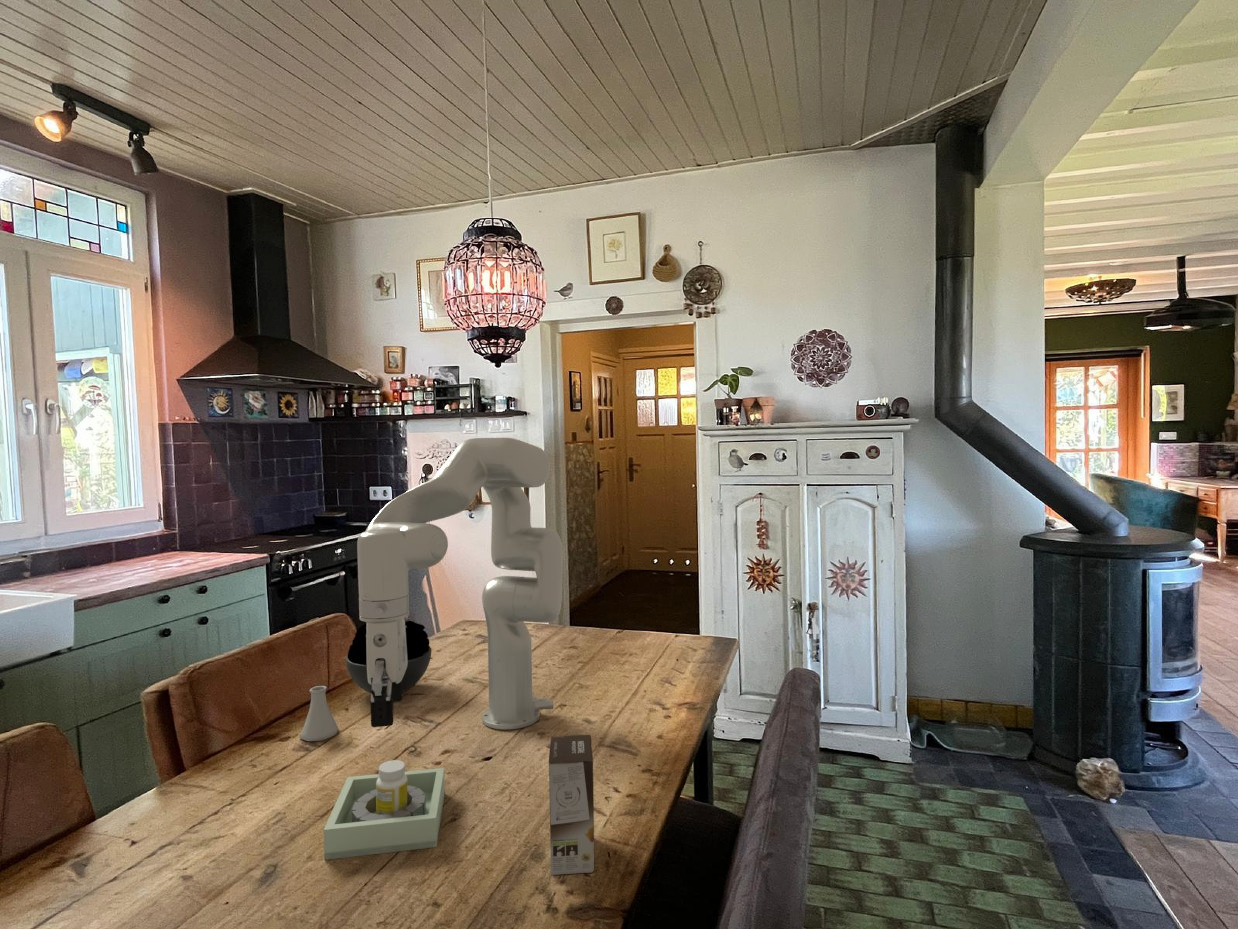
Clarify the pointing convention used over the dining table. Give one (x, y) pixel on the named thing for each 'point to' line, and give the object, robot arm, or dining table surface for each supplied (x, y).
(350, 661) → the bowl of black rocks
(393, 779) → the supplement bottle
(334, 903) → the dining table surface
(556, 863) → the coffee box
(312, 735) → the flask
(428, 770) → the socket box
